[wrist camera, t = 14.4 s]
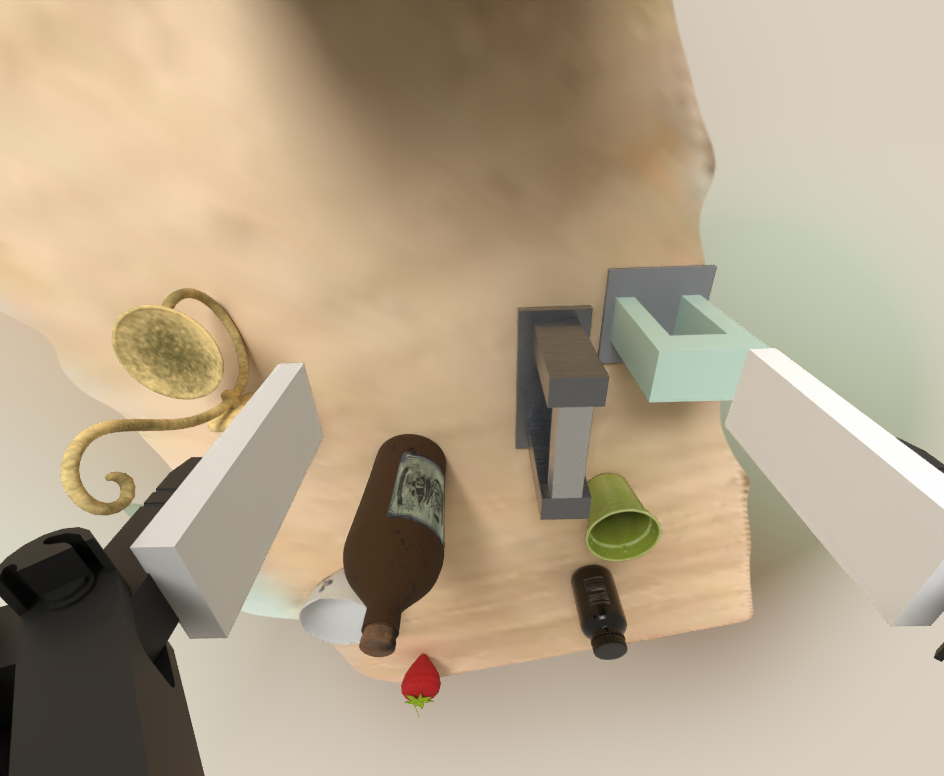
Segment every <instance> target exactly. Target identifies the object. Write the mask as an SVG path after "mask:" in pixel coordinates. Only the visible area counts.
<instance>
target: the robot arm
mask: <svg viewBox="0 0 944 776" xmlns="http://www.w3.org/2000/svg"><path fill="white" fill-rule="evenodd" d="M725 427H726V428H727V429H728V430H729V432H730V433H731V434H732V435H733V436H734V438H735V439H736V440H737V441H738V443H739V444H740V445H741V446H742V447H743V448H744V450H745V451H746V452H747V453H748V455H749V456H750V457H751V458H752V459H753V461H754V462H755V463H756V464H757V465H758V467H759V468H760V469H761V470H762V471H763V473H764V474H765V475H766V476H767V478H768V479H769V480H770V481H771V482H772V484H773V485H774V486H775V487H776V488H777V490H778V491H779V492H780V493H781V494H782V496H783V497H784V498H785V499H786V501H787V502H788V503H789V504H790V505H791V506H792V508H793V509H794V510H795V511H796V513H797V514H798V515H799V516H800V517H801V519H802V520H803V521H804V522H805V523H806V525H807V526H808V527H809V528H810V529H811V531H812V532H813V533H814V534H815V536H816V537H817V538H818V539H819V540H820V542H821V543H822V544H823V545H824V546H825V548H826V549H827V550H828V551H829V552H830V554H831V555H832V556H833V557H834V558H835V560H836V561H837V562H838V563H839V565H840V566H841V567H842V568H843V569H844V571H845V572H846V573H847V574H848V575H849V577H850V578H851V579H852V580H853V581H854V583H855V584H856V585H857V586H858V587H859V589H860V590H861V591H862V592H863V594H864V595H865V596H866V597H867V598H868V600H869V601H870V602H871V603H872V604H873V606H874V607H875V608H876V609H877V610H878V612H879V613H880V614H881V615H882V616H883V618H884V619H885V620H886V621H887V623H888V624H889V625H890V626H931V625H932V624H933V623H934V621H935V620H936V619H937V618H938V617H939V616H940V615H941V613H942V612H943V611H944V464H942V463H941V462H940V461H938V460H937V459H935V458H934V457H933V456H931V455H930V454H928V453H927V452H926V451H924V450H922V449H920V448H918V447H916V446H913V445H912V444H909V443H908V442H906V441H903V440H901V439H899V438H896V437H894V436H892V435H891V434H890V433H888V432H887V431H886V430H884V429H883V428H882V427H880V426H879V425H878V424H876V423H875V422H874V421H872V420H871V419H870V418H868V417H867V416H866V415H864V414H863V413H862V412H860V411H859V410H858V409H856V408H855V407H854V406H852V405H851V404H849V403H848V402H847V401H846V400H844V399H843V398H841V397H840V396H839V395H838V394H836V393H835V392H833V391H832V390H831V389H829V388H828V387H827V386H826V385H824V384H823V383H821V382H820V381H819V380H817V379H816V378H815V377H813V376H812V375H811V374H809V373H808V372H807V371H805V370H804V369H803V368H801V367H800V366H799V365H797V364H796V363H795V362H793V361H792V360H791V359H789V358H788V357H787V356H785V355H784V354H783V353H781V352H780V351H778V350H777V349H776V348H768V349H749V351H748V354H747V357H746V360H745V363H744V366H743V370H742V373H741V376H740V379H739V382H738V385H737V388H736V391H735V394H734V398H733V401H732V404H731V407H730V410H729V413H728V416H727V419H726V422H725ZM323 437H324V436H323V433H322V429H321V425H320V421H319V418H318V414H317V410H316V406H315V403H314V399H313V395H312V391H311V387H310V384H309V380H308V376H307V372H306V369H305V365H304V363H284V364H278V365H277V366H276V368H275V369H274V370H273V371H272V372H271V374H270V375H269V376H268V377H267V379H266V380H265V381H264V382H263V384H262V385H261V386H260V387H259V389H258V390H257V391H256V392H255V393H254V395H253V396H252V397H251V398H250V400H249V401H248V402H247V403H246V405H245V406H244V407H243V408H242V410H241V411H240V412H239V413H238V415H237V416H236V417H235V418H234V419H233V421H232V422H231V423H230V424H229V426H228V427H227V428H226V429H225V431H224V432H223V433H222V434H221V436H220V437H219V438H218V439H217V440H216V442H215V443H214V444H213V445H212V447H211V448H210V449H209V450H208V452H207V453H206V454H205V455H204V457H191V458H190V459H188V460H187V461H186V462H184V463H183V464H181V465H180V466H179V467H177V468H176V469H174V470H173V471H172V472H170V473H169V474H168V476H167V477H166V478H165V479H164V480H163V481H162V483H161V484H160V485H159V486H158V487H157V488H156V492H153V493H152V494H151V495H150V496H149V498H148V499H147V500H146V501H145V502H144V506H143V507H140V508H139V509H138V510H137V511H136V512H135V514H134V515H133V516H132V517H131V518H130V519H129V521H128V522H127V523H126V524H125V525H124V526H123V527H122V529H121V530H120V531H119V532H118V533H117V535H116V536H115V537H114V538H113V539H112V540H111V541H110V543H109V544H108V545H107V546H106V547H105V548H104V549H102V547H101V546H100V544H99V543H98V542H97V540H96V539H95V538H94V536H93V535H92V533H91V532H90V530H87V529H83V528H80V527H75V528H66V529H61V530H58V531H54V532H51V533H48V534H46V535H43V536H41V537H39V538H37V539H35V540H33V541H31V542H29V543H27V544H25V545H24V546H22V547H21V548H20V549H18V550H17V551H15V552H14V553H13V554H11V555H10V556H8V557H7V558H6V559H5V560H4V561H3V562H2V563H1V564H0V597H1V598H2V599H3V600H4V601H5V602H6V603H7V604H8V605H6V606H3V607H0V776H204V771H203V767H202V763H201V759H200V756H199V751H198V747H197V743H196V739H195V735H194V731H193V727H192V723H191V719H190V714H189V711H188V707H187V702H186V698H185V694H184V690H183V686H182V682H181V678H180V674H179V670H178V666H177V661H176V658H175V654H174V649H173V648H172V646H171V645H170V643H169V642H168V639H169V637H170V635H171V634H172V632H173V631H174V629H175V627H176V626H177V624H178V622H179V623H180V624H181V626H182V627H183V629H184V631H185V632H186V634H187V635H188V637H189V638H191V639H193V638H227V637H228V635H229V633H230V631H231V629H232V626H233V625H234V622H235V620H236V618H237V616H238V614H239V612H240V610H241V608H242V606H243V604H244V602H245V600H246V598H247V595H248V593H249V591H250V589H251V587H252V585H253V583H254V581H255V579H256V577H257V575H258V572H259V570H260V568H261V566H262V564H263V562H264V560H265V558H266V556H267V554H268V552H269V549H270V547H271V545H272V543H273V541H274V539H275V537H276V535H277V533H278V531H279V529H280V526H281V524H282V522H283V520H284V518H285V516H286V514H287V512H288V510H289V508H290V506H291V503H292V501H293V499H294V497H295V495H296V493H297V491H298V489H299V487H300V485H301V483H302V480H303V478H304V476H305V474H306V472H307V470H308V468H309V466H310V464H311V462H312V460H313V457H314V455H315V453H316V451H317V449H318V447H319V445H320V443H321V441H322V439H323ZM934 658H935V659H937V660H939V661H941V662H942V661H943V660H944V643H943V644H942V645H941V646H940V647H939V648H938V649H937V650H936V653H935V656H934Z"/></svg>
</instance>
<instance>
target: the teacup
mask: <svg viewBox="0 0 944 776" xmlns="http://www.w3.org/2000/svg"><path fill="white" fill-rule="evenodd" d="M366 609H367V608H366V606H365V605H364V604H363V602H362V601H361V600H360V599H359V597H358V596H357V595H356V593H355V592H354V591H353V590H352V588H351V587H350V585H349V583H348V581H347V579H346V576H345V572H344V568H343V569H340V570H339V571H337V572H335V573H333V574H331V575H329V576H328V577H326V578H325V579H324V580H322V581H321V582H320V583H319V584H318V585H317V586H316V587H315V589H314V590H313V591H312V592H311V594H310V595H309V597H308V599H307V600H306V602H305V604H304V606H303V608H302V610H301V612H300V615H299V619H300V622H301V624H302V627H303V629H304V630H305V631H307V632H308V633H309V634H310V635H312V636H314V637H316V638H318V639H320V640H322V641H324V642H328V643H332V644H340V645H349V644H351V643H355V644H360V640H361V637H362V633H361V629H362V625H363V621H364V617H365V613H366Z"/></svg>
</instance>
